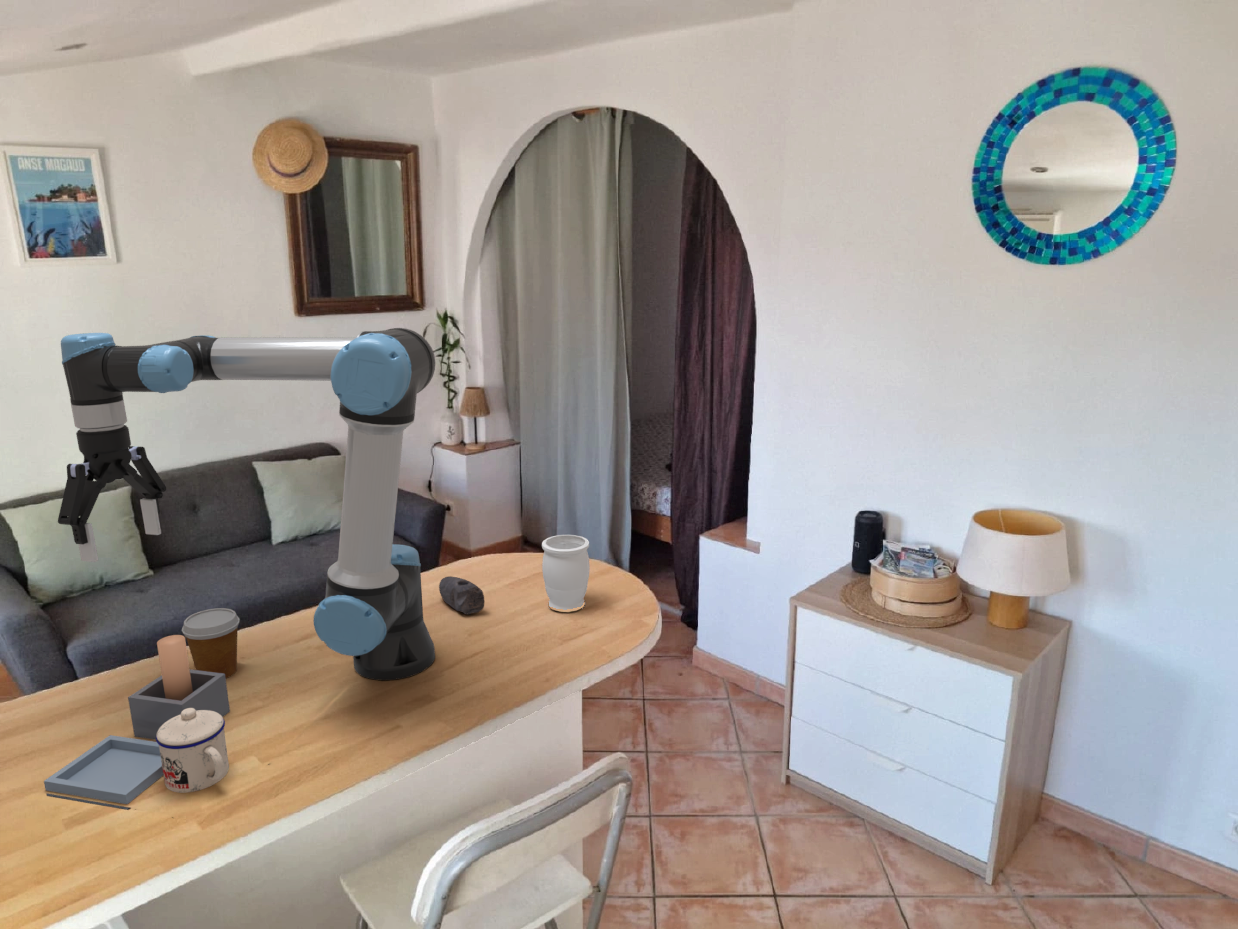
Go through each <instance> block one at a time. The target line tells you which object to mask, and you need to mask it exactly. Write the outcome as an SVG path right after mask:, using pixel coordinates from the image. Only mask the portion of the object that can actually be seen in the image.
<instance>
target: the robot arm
mask: <svg viewBox="0 0 1238 929" xmlns="http://www.w3.org/2000/svg"><path fill="white" fill-rule="evenodd" d="M60 349H61V364H62V368H63V370H64V371H63V372H64V376H65V379H66V383H67V385H66V386H67V387H68V392H69V393H68V394H69V397H70V398H69V400H70V406H71V411H72V418H73V422H74V426H75V428H77V429H78V430H77V431H76V433H75V435H76V439H77V445H78V450H79V452H80V453H81V454H82V455H83V462H82V463H68V464H67V465H66V476H67V480H66V483H65V488H64V490H63V496H62V501H61V505H60V510H59V513H58V516H57V517H58V518H57V523H58V524H60V525H64V526H65V525H66V526H70V527H71V529H72V535H73V542H74V543H75V544H76V545H78V551H79V555H80V559H81V560H80V561H81V562H89V563H96V562H99V561H100V560H99V556H98V552H97V551H98V550H97V545H96V539H95V535H94V528H93V525H92V524H93V523H91V522H88V520H89V517H90V515H91V513H92V511H93V509H94V507H95V505H96V503H97V500H98V498H99V496H100V493H101V491H102V489H104V488H105V487H106V486H107V484H111V483H114V481H117V480H122V479H123V481H125V482H126V483H128V484H129V485H130V487H132V488H133V489H134V490H135V491H137V492H138V493H139V494H141V496H142V497H143V498H142V499H141V498H140V499H139V502H140V508H141V513H142V520H143V524H144V525H143V526H144V531H145V534H146V535H150V536H151V535H152V536H159V535H161V534H162V529H161V524H160V518H159V515H160V513H161V512H160V511H161V510H160V505H159V504H160V503H159V499H162V498H163V496H164V493H165V492H166V491H167V486H166V484H165V483H164V482H163V480H162V478H161V477H160V476H159V474H158V473H157V471H156V469H155V468H154V466H153V464H152V463H151V461H150V459H149V458H148V456H147V452H146V448H145V447H144V446H139V445H138V446H133V445H132V441H131V436H130V430H129V427H128V426H127V425H125V424H126V423H128V418H127V417H128V416H127V412H126V406H125V401H124V396H123V395H124V392H125V393H126V392H128V393H129V392H130V393H133V392H134V393H139V392H140V393H159V394H166V393H170V392H171V393H173V392H182V391H184V390H186V389H187V388H188V385H189V384H191V383H193V382H197V381H231V380H233V381H310V382H311V381H320V382H321V381H323V382H325V381H330V382H331V383H330V384H331V386H332V387H331V388H332V390H333V392H334V395H335V396H337V398H338V400H339V411H338V412H339V413H338V414H339V415H338V416H339V417H340V418H341V419H342V420H343V421H344V422H345V423H346V425H347V427H348V428H347V438H346V452H345V454H346V455H345V466H344V467H345V468H344V479H343V491H342V492H343V493H342V504H341V517H340V531H339V532H340V533H339V543H338V555H337V561H335V562H334V563H332V564H331V565H330V566H329V567H328V570H327V573H326V574H327V575H326V584H325V585H326V588H325V596H324V599H323V600H321V601H320V602H319V603H318V606H317V607H316V609H315V612H314V615H313V627H314V631H315V633H316V635H317V636H318V638H319V640H320V641H321V642H324V644H325V645H326V647H328V648H329V649H330V650H332V651H334V652H335V653H338V654H340V655H343V656H349V657H352V659H353V668H354V670H355V672H356V673H357V674H358V675H359V676H361V677H364V678H366V679H370V680H376V681H392V680H400V679H404V678H409V677H411V676H415V675H417V674H419V673H422V672H423V671H425V670H427V669H429V667H431V666H432V664H433V663H434V661H435V659H436V651H435V649H436V648H435V643H434V641H433V639H432V637H431V634H430V631H429V630H428V627H427V625H426V623H425V620H424V609H423V596H422V595H423V593H422V592H423V591H422V589H423V588H422V573H421V566H422V565H421V563H420V562H421V561H420V556H419V551H418V550H417V549H416V547H415V548H414V547H413V546H409V545H405V544H394V534H395V532H394V531H395V522H396V521H395V520H396V514H397V502H398V490H399V480H400V471H401V470H400V469H401V460H402V459H401V458H402V449H403V439H404V431H405V429H407V428H408V427H410V426H411V425H412V424H413V423H415V422H414V421H415V417H416V415H415V414H416V404H417V394H419V393H420V392H421V391H423V390H424V389H426V387H427V386H428V385H429V384H430V382H431V381H432V379H433V377H434V374H435V371H436V356H435V353H434V350H433V348H432V346H431V345H430V343H429V342H428V340H427V339H426V338H425V337H424V336H422V335H421V334H420V333H418V332H417V331H414V330H413V329H409V328H406V327H405V328H403V327H393V328H392V327H391V328H389V329H384V330H375V331H371V330H370V331H360V332H359V333H358V334H357V335H356V337H355V336H354V337H352V336H351V337H350V336H347V337H343V336H342V337H340V336H336V337H335V336H334V337H333V336H332V337H331V336H330V337H327V336H325V337H324V336H323V337H320V336H319V337H317V336H316V337H313V336H312V337H311V336H309V337H306V336H303V337H301V336H299V337H297V336H296V337H294V336H293V337H286V336H285V337H284V336H283V337H282V336H281V337H280V336H279V337H277V336H276V337H275V336H274V337H268V336H267V337H265V336H264V337H262V336H261V337H257V336H255V337H251V336H250V337H248V336H247V337H244V336H243V337H241V336H239V337H237V336H236V337H229V336H227V337H222V336H221V337H216V336H213V335H200V334H199V335H193V336H191V337H187V338H182V339H177V340H170V341H164V342H159V343H152V344H147V345H145V344H144V345H127V346H126V345H125V346H124V345H116V343H115V341H114V336H112V334H111V333H108V332H88V333H75V334H68V335H65V336H63V337H62V338H61V339H60ZM131 463H132V465H133V466H134V467H133V466H132V465H131ZM135 468H136V469H135Z"/></svg>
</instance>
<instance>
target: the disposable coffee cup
mask: <svg viewBox="0 0 1238 929" xmlns="http://www.w3.org/2000/svg"><path fill="white" fill-rule="evenodd" d="M240 620H241V619H240V617H239V616H238V615H237V613H236V611H235V610H233V609H232V608H224V607H221V608H220V607H218V608H209V609H204V610H200V611H198V612H195V613H193V614H190V615H189V616H187V617H186V619H184V621H183V625H182V628H181V633H182V634H183V636H184V637H185V639H186V642H187V644H188V647H189V648H188V649H189V651H190V655H191V658H192V662H193V666H194V668H195V670H199V671H207V672H215V673H223V674H225V677H226V679H227V678H229V677H230V678H231V677H232V676H233V675H234V674H235V673H236V672H237V666H238V627H239V624H240Z"/></svg>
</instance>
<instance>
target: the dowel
mask: <svg viewBox="0 0 1238 929" xmlns="http://www.w3.org/2000/svg"><path fill="white" fill-rule="evenodd" d="M186 642H187V640H186V636H185V635H181V634H173V635H172V634H171V635H168V636H164V637H161V638H160V639H159V640H157V642H156V645H157V652H158V659H159V665H160V666H159V667H160V671H161V675H162V679H163V686H164V692H165V699H172V700H179V701H182V700H183V699H184V698H186V697H187V696H189V695H190V694H191V693H193V690H192V683H191V676H190V669H191V668H190V662H189V657H188V649H187V643H186Z"/></svg>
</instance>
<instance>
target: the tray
mask: <svg viewBox="0 0 1238 929" xmlns="http://www.w3.org/2000/svg"><path fill="white" fill-rule="evenodd" d="M162 777H164V775H163V768H162V762H161V756H160V749H159V744H158V743H157V742H156V741H154V740H153V741H152V740H145V739H139V738H138V739H137V738H132V737H124V736H117V735H111V734H110V735H108V736H107V737H105V738H104V739H102V740H101V741H99V742H98V743H96V744H95V745H94V746H92V747H90V748H89V749H88V750H87V751H85V752H83V753H82V754H81V755H79V756H78V757H76V758H75V759H74V760H72V761H71V762H69V763H68V764H66V765H65V766H63V767H61V769H59V770H57V771H56V772H55V773H53V774H52V775H50V776H49V777H48V778H46V779H45V780H43V785H44V789H45V791H47V792H46V793H45V794H46V797H51V798H55V799H62V800H68V801H73V802H79V803H85V804H91V805H97V806H102V807H108V808H114V809H120V810H125V811H126V810H127V811H129V810H130V809H131V807H129V806H122V805H118V804H124V805H129V804H130V803H131V802H132V801H133V800H134V799H136V798H137V797H138V796H139V795H140V794H142V793H143V792H145V791H146V790H147V789H148V788H149V787H151V786H152V785H153V784H154V783H156V782H157V781H158V780H160V779H161V778H162ZM48 792H52V793H53V792H54V793H58V794H52V793H48ZM60 794H65V795H66V796H64V795H60ZM67 795H69V796H67ZM70 795H71V796H75V797H81V798H75V797H71V796H70ZM82 798H87V799H82ZM88 799H92V800H88ZM94 799H95V800H100V801H101V802H100V801H94ZM102 801H107V802H112V803H117V804H111V803H106V802H102Z"/></svg>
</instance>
